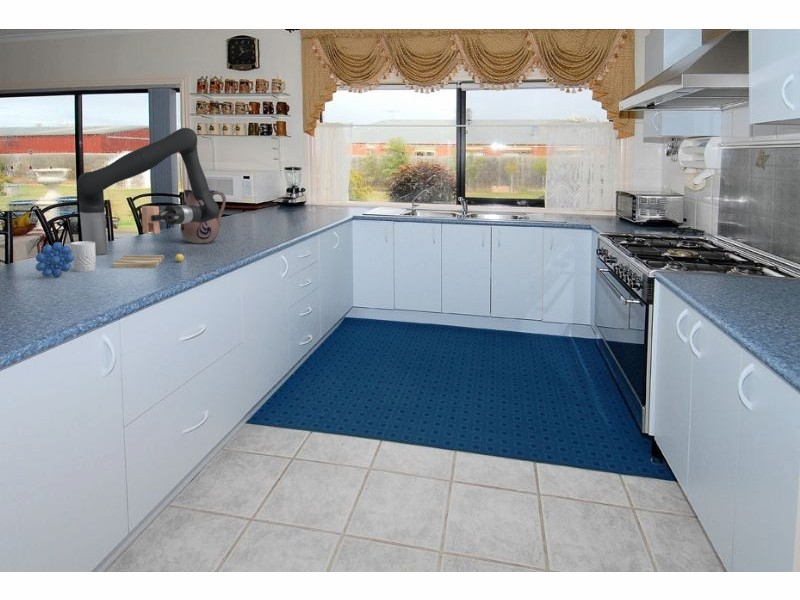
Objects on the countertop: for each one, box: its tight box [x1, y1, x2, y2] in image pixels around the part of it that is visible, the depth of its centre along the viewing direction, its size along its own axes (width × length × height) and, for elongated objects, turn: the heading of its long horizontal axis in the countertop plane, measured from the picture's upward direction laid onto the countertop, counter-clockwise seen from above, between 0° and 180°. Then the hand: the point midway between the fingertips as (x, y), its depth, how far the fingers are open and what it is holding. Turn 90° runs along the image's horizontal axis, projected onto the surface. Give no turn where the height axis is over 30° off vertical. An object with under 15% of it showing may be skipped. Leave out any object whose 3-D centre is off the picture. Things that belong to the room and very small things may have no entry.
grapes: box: [35, 241, 74, 278], centre depth 211 cm, size 12×7×12 cm, turn 125°
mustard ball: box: [174, 253, 185, 263], centre depth 248 cm, size 3×3×3 cm
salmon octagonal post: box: [141, 205, 161, 235], centre depth 241 cm, size 6×6×10 cm
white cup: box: [70, 241, 97, 273], centre depth 224 cm, size 8×8×10 cm
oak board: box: [111, 254, 165, 269], centre depth 243 cm, size 20×15×2 cm
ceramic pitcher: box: [180, 189, 227, 244], centre depth 299 cm, size 18×21×25 cm
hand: (145, 217), depth 238 cm, fingers closed on salmon octagonal post, 6 cm apart
